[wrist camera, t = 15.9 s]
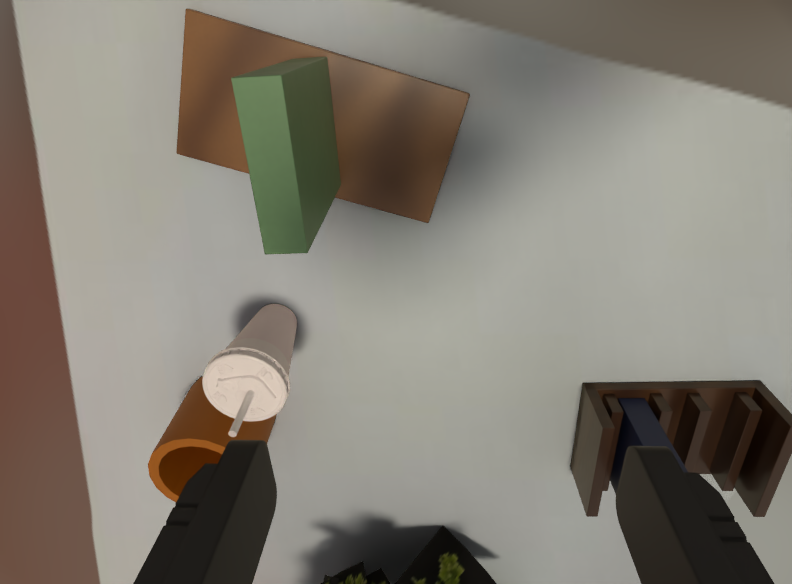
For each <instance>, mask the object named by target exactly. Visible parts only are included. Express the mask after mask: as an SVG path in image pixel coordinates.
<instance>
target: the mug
mask: <svg viewBox="0 0 792 584" xmlns="http://www.w3.org/2000/svg"><path fill="white" fill-rule="evenodd" d="M202 379H203V377H201V378H199V379H198V380H197V381H196V382H195V383H194V384H193V385H192V387H191V389H190V390H189V392H188V394H187V395H186V397H185V399H184V400H183V402H182V404H181V405H180V407H179V409H178V411H177V412H176V414H175V416H174V417H173V419H172V421H171V422H170V424H169V426H168V427H167V429H166V431H165V433H164V434H163V436H162V438H161V439H160V441H159V443H158V444H157V446H156V448H155V449H154V451H153V453H152V455H151V458H150V460H149V463H148V468H149V475H150V478H151V479H152V481H153V483H154V485H155V486H156V488H157V489H159V490H160V491H161V492H162V493H163V494H164V495H165V496H166V497H168V498H169V499H171V500H173V501H175V502H177V500H178V498H179V496H180V494H181V492H182V490H183V488H184V486H185V484H186V483H187V481H188V480H189V479H190V478H191V477H192V476H193V475H194V474H195V473H196V472H197V471H198V470H199V469H200V468H201V467H202V466H203V465H204V464H205V463H213V464H218V462H219V460H220V458H221V456H222V454H223V452H224V450H225V447H226V446H227V444H228V442H229V441H230V440H264V441H265V442H266V444H267V442H268V439H269V436H270V433H271V430H272V427H273V424H274V421H275V418H276V415H274V416H273V417H271V418H268V419H266V420H262V421H243V422H242V424H241V426H240V428H239V431H238V433H237V435H236V436H235V437H231V436H229V434H228V432H229V430H230V428H231V426H232V424H233V422H234V420H235V419H234V418H231V417H229V416H227V415H225V414H223V413H222V412H220V411H219V410H217V409H216V408H215V407H214V406H213V405H212V404H211V403H210V401H209V400H208V399H207V397H206V395H205V393H204V390H203V385H202Z"/></svg>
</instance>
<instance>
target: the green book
mask: <svg viewBox="0 0 792 584" xmlns="http://www.w3.org/2000/svg"><path fill="white" fill-rule="evenodd" d="M231 80H232V86H233V91H234V96H235V101H236V106H237V112H238V117H239V122H240V127H241V132H242V138H243V143H244V148H245V153H246V158H247V164H248V169H249V174H250V179H251V184H252V190H253V195H254V200H255V205H256V210H257V216H258V221H259V226H260V231H261V236H262V242H263V247H264V252H265V254H290V253H308V251H309V249H310V247H311V245H312V243H313V241H314V239H315V237H316V235H317V233H318V231H319V229H320V227H321V224H322V222H323V220H324V218H325V216H326V214H327V212H328V210H329V208H330V206H331V204H332V202H333V200H334V198H335V196H336V194H337V192H338V190H339V188H340V186H341V180H340V171H339V161H338V152H337V143H336V133H335V124H334V115H333V106H332V96H331V87H330V78H329V69H328V59H327V57H312V58H295V59H291V60H287V61H284V62H281V63H278V64H274V65H271V66H268V67H265V68H261V69H258V70H255V71H252V72H248V73H245V74H242V75H239V76H235V77H232V78H231Z"/></svg>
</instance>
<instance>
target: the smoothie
mask: <svg viewBox="0 0 792 584" xmlns="http://www.w3.org/2000/svg"><path fill="white" fill-rule="evenodd" d="M296 329H297V319H296V316H295V315H294V313H293V312H292V311H291V310H290V309H289V308H287V307H285V306H283V305H280V304H269V305H266V306H264V307H262V308H261V309H260V310H259V312H258V313H257V314H256V315H255V316H254V317H253V318H252V319H251V321H250V322H249V323H248V324H247V325H246V326H245V327H244V329H243V330H242V331H241V332H240V333H239V334H238V335H237V337H236V338H235V339H234V340H233V341H232V342H231V343H230V345H229V346H228V347H227V348H226V349H225V350H223V351H221V352H219V353H218V354H216V355H215V356H214V357H213V358H212V359H211V360H210V362H209V363H208V365H207V368H206V370H205V372H204V374H203V379H202V385H203V390H204V393H205V395H206V397H207V399H208V400H209V401H210V403H211V404H212V405H213V406H214V407H215V408H216V409H217V410H219V411H220V412H222V413H223V414H225V415H227V416H229V417H231V418H234V419H235V420H234V422H233V424H232V426H231V428H230V430H229V432H228V434H229V436H231V437H235V436H236V435H237V433H238V431H239V428H240V426H241V424H242V422H243V421H262V420H266V419H268V418H271V417H273V416H274V415H276V414H277V413H278V412H279V411H280V410H281V409H282V408H283V406H284V404H285V402H286V399H287V397H288V395H289V391H290V382H289V378H288V376H289V369H290V363H291V358H292V352H293V346H294V340H295V335H296Z"/></svg>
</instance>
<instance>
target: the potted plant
mask: <svg viewBox="0 0 792 584" xmlns="http://www.w3.org/2000/svg"><path fill="white" fill-rule="evenodd" d="M321 584H390V582H389V580H388V579H387V577H386V575H385V574H384V572H383V570H382V569H381V568H380V569H378V570H376V571H374V572H373V573H371V574H369V575H367V576H366V574H365V569H364V563H363V561H362V562H360V563H358V564H356V565H354V566H352V567H350V568H348V569H346V570H344V571H342V572H340V573H338V574H336V575H335V576H333V577H331V576H327V575H325V577H324V582H323V583H321ZM395 584H496V583H495V581H494V580H493V579H492V578H491V576H490V575H489V574H488V573H487V571H486V570H485V569H484V568H483V567H482V566H481V565H480V563H479V562H478V561H477V560H476V559H475V558H474V557H473V556H472V554H471V553H470V552H469V551H468V550H467V549H466V548H465V547H464V546H463V545H462V544H461V543H460V542H459V541H458V540H457V539H456V538H455V537H454V536H453V535H452V534H451V533H450V532H449V531H448V530H447V529H446V528H445V527H444V526H442V527H441V529H440V530H439V531H438V532H437V533H436V535H435V536H434V537H433V538H432V540H431V541H430V542H429V543H428V544H427V546H426V547H425V548H424V549H423V551H422V552H421V553H420V554H419V555H418V556H417V558H416V559H415V560H414V561H413V562H412V564H411V565H410V566H409V567H408V568H407V570H406V571H405V572H404V573H403V574H402V576H401V577H400V578H399V579H398V580H397V581H396V583H395Z"/></svg>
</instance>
